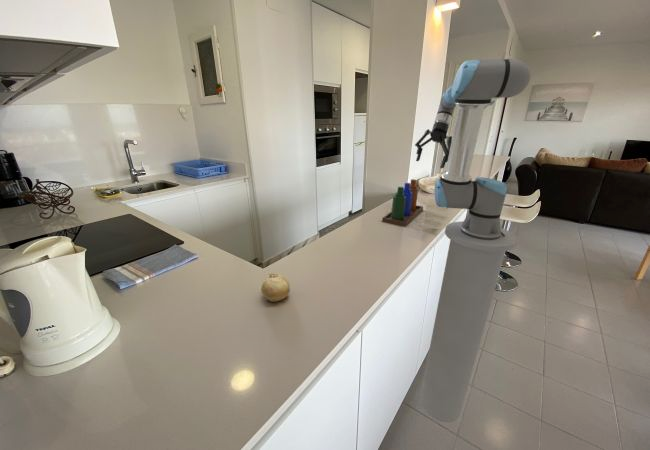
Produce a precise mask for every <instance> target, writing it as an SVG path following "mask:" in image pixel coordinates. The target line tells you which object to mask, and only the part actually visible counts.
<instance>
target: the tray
mask: <svg viewBox="0 0 650 450" xmlns="http://www.w3.org/2000/svg"><path fill="white" fill-rule="evenodd" d="M423 211H424V206H423V205H417V204H416V210H415V211H410V215H409V216H404V219H403V221H399V220H394V219H391V213H392V210H390V212H388V213H387V214H386V215H384V216H383V217H381V218H382V219H381V220H382V223H388V224H391V225H397V226H400V227H406V226H407V225H409V224H410V223H411V222H412V221H413V220H415V218H417V216H418V215H420V214H421V212H423Z"/></svg>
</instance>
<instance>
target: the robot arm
mask: <svg viewBox="0 0 650 450" xmlns="http://www.w3.org/2000/svg"><path fill="white" fill-rule="evenodd" d="M530 70H531V69H530V68H529V67H528V65H527V64H526V63H524V62H523V61H521V60H519V59H513V58H506V59H505V58H500V59H479V58H477V59H469V60H465V61H464V62H463V63H462V64H461V65H460V66H459V68H458V70H457V72H456V74H455V77H454V78H453V83H452V85H451V86H450V87H448V88H447V90H446V91H445V92H443V94H442V96H441V98H440V101H439V104H438V108H437V112H436V115H435V119H434V123H433V126H432V129H431V130H430V129H426V130H425V131H424V133H423V135H422V136H421V137H420V138H419V139H418V140H417V142H416V143H415V144H414V146H415V147H416V148H417V149H416V160H415V162H419V161H420V159H421V156H422V153H423V149H424V146H426V145H427V144H429V143H430V142H431V141H432V142H433V143H437V144H439V145H440V146H441V148H442V152H443V153H444V155H443V157H442V160H441V163H440V167H439V169H444V168H445V165H446V168H445V171H443V172H442V173H441V174H440V178H438V179H435V182H434V187H433V188H434V189H433V190H434V192H433V193H434V201H435V205H436V206H437V207H439V208H446V209H461V210H468V213H467V215H466V216H465V218H464V220H463V221H464V222H463V223H462V225H461V229H460V230H461V232H462V233H464V234H465V235H468V236H470V237H473V238H477V239H484V240H495V239H498V238H500V236H501V234H502V235H503V236H505V235H504V234H503V233H502V232H501V228H502V227H501V226H502V225H501V220H500V219H501V214H502V211H503V207H504V203H505V200H506V197H507V191H508V185H507V184H506V183H505V182H503V181H501V180H498V179H495V178H489V177H483V176H476V177H475V179H474V180H473V177H472V176H471V174H470V170H471V166H472V161H473V157H474V155H475V154H474V153H475V149H476V145H477V141H478V137H479V132H480V129H481V124H482V120H483V117H484V116H483V115H484V112H485V109H486V108H487V107H489V106H493V104H494V103H495V102H496V100H499V99H502V98H505V99H506V98H507V99H509V98H513V97H515V96H518V95H519V94H522V92H523V91H525V89H526V88H527V87H528V86H529V84H530V81H531V71H530ZM456 107H457V111H456V117H455V122H454V127H453V133H452V136H451V135H450V136H449V135H447V133H448V131H449V128H450V124H451V120H452V117H453V114H454V110H455V108H456ZM429 135H430V137H429V138H428V139H426V138H427V136H429ZM425 139H426V140H425ZM424 140H425V141H424ZM423 141H424V142H423Z"/></svg>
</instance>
